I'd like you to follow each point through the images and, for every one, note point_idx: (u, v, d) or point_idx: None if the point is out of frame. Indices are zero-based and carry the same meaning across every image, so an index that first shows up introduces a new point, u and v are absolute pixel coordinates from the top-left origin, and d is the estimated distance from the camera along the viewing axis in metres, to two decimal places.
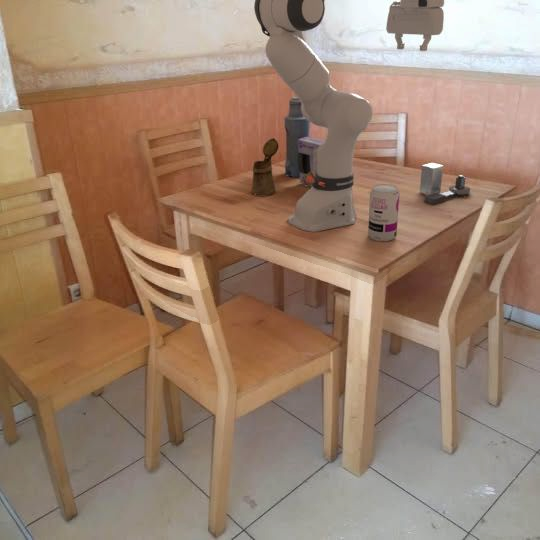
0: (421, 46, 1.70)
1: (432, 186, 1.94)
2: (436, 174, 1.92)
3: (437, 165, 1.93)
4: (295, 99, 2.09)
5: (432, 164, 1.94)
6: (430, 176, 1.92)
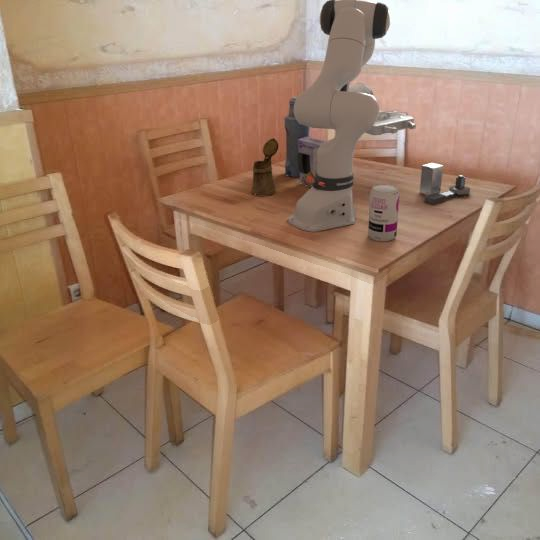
0: (411, 123, 2.02)
1: (432, 186, 1.94)
2: (436, 174, 1.92)
3: (437, 165, 1.93)
4: (295, 99, 2.09)
5: (432, 164, 1.94)
6: (430, 176, 1.92)
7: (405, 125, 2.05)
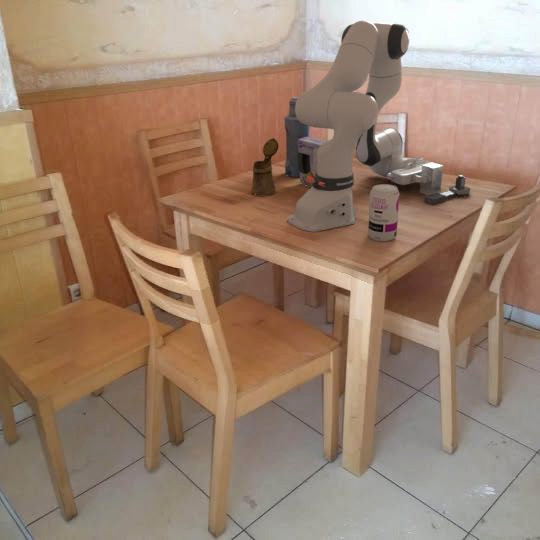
0: None
1: (432, 186, 1.94)
2: (436, 174, 1.92)
3: (437, 165, 1.93)
4: (295, 99, 2.09)
5: (432, 164, 1.94)
6: (430, 176, 1.92)
7: None
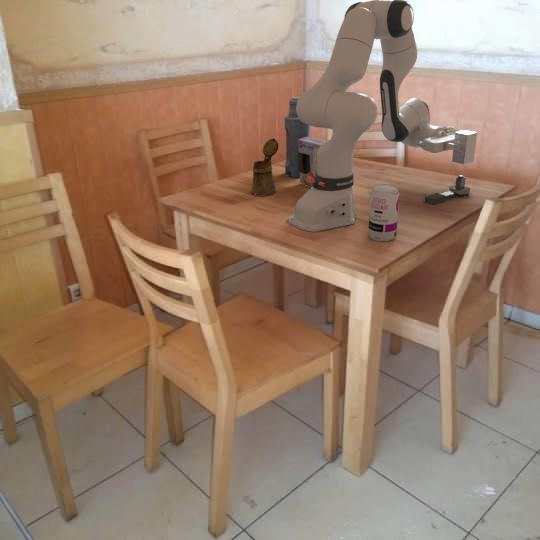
0: None
1: (466, 154, 1.87)
2: (470, 141, 1.86)
3: (471, 132, 1.86)
4: (295, 99, 2.09)
5: (465, 131, 1.88)
6: (464, 143, 1.86)
7: None
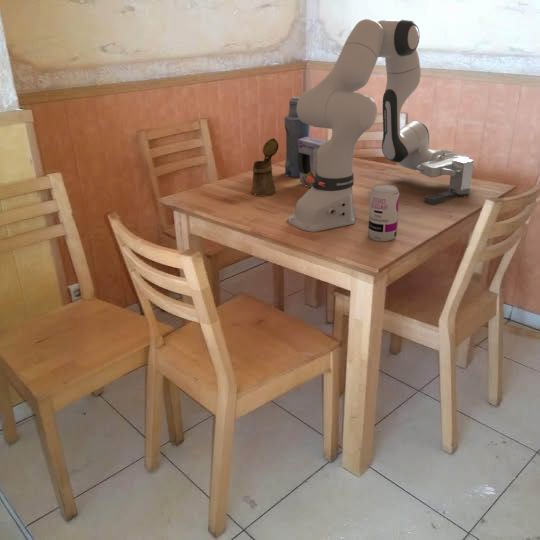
0: None
1: (462, 181, 1.91)
2: (467, 169, 1.90)
3: (468, 160, 1.90)
4: (295, 99, 2.09)
5: (462, 159, 1.92)
6: (461, 171, 1.90)
7: None
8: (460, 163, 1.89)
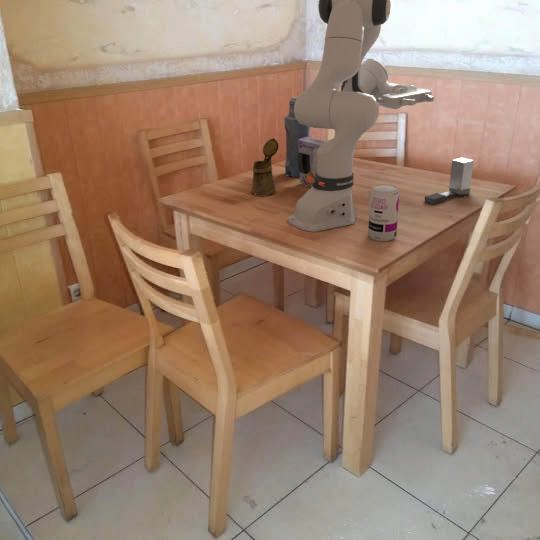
0: (429, 96, 1.97)
1: (462, 181, 1.91)
2: (467, 169, 1.90)
3: (468, 160, 1.90)
4: (295, 99, 2.09)
5: (462, 159, 1.92)
6: (461, 171, 1.90)
7: (423, 98, 2.00)
8: (460, 163, 1.89)
